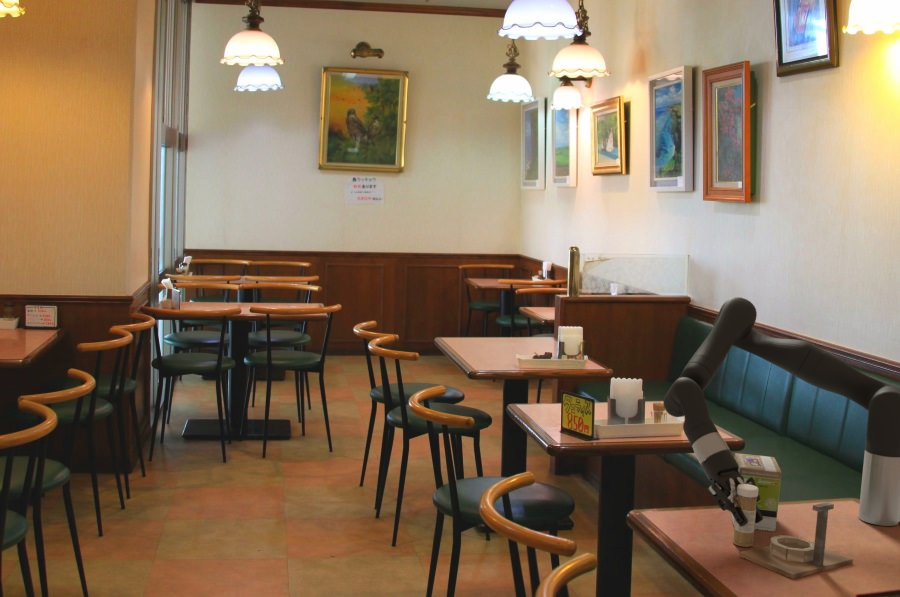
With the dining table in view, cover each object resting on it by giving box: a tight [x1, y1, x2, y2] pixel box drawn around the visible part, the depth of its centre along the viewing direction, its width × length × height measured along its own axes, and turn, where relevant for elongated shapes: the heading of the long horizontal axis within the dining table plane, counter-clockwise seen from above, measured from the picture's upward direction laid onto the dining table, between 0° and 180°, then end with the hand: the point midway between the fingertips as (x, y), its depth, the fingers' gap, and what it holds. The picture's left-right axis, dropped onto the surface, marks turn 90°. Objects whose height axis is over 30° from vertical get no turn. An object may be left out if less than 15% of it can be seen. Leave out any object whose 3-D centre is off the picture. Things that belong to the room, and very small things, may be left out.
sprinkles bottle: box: [732, 484, 758, 548], centre depth 226 cm, size 5×5×13 cm
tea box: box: [730, 452, 782, 532], centre depth 244 cm, size 15×10×15 cm
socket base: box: [739, 501, 854, 580], centre depth 218 cm, size 20×14×14 cm
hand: (751, 522), depth 225 cm, fingers closed on sprinkles bottle, 4 cm apart
